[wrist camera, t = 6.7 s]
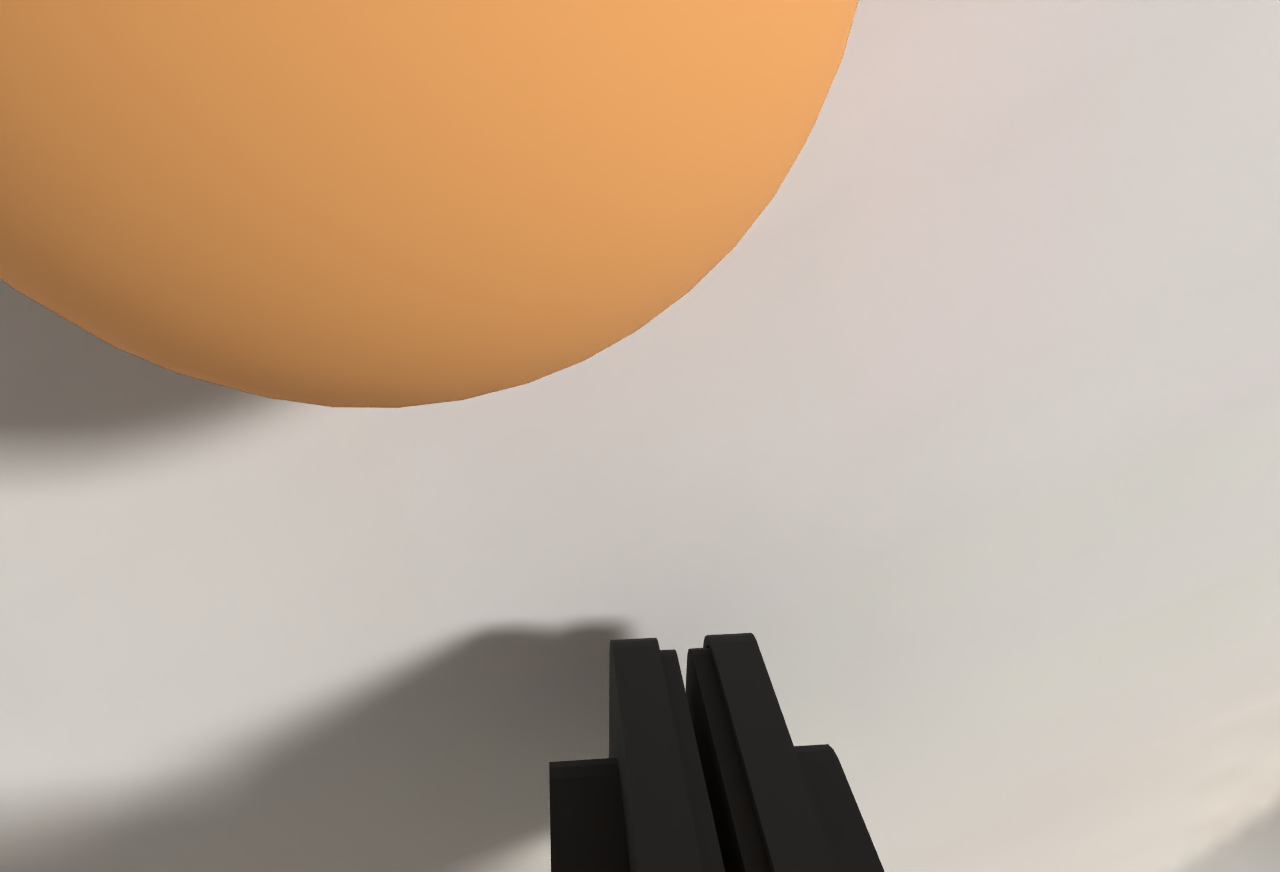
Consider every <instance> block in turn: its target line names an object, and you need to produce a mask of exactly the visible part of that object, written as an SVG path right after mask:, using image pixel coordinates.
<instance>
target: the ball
mask: <svg viewBox="0 0 1280 872" xmlns="http://www.w3.org/2000/svg"><path fill="white" fill-rule="evenodd" d="M857 4H858V0H0V278H1V279H2V280H3V281H5V282H6V283H7V284H8V285H10V286H11V287H12V288H14V289H15V290H17V291H18V292H20V293H22V294H24V295H25V296H27V297H29V298H30V299H32V300H34V301H36V302H37V303H39V304H41V305H42V306H44V307H46V308H48V309H49V310H51V311H53V312H55V313H56V314H58V315H60V316H61V317H63V318H65V319H67V320H68V321H70V322H72V323H74V324H75V325H77V326H79V327H80V328H82V329H84V330H86V331H87V332H89V333H91V334H93V335H94V336H96V337H98V338H99V339H101V340H103V341H105V342H106V343H108V344H110V345H112V346H114V347H116V348H118V349H121V350H123V351H125V352H128V353H130V354H133V355H135V356H137V357H140V358H142V359H145V360H147V361H149V362H152V363H154V364H157V365H159V366H161V367H164V368H166V369H168V370H171V371H173V372H176V373H178V374H182V375H186V376H189V377H193V378H197V379H200V380H204V381H207V382H211V383H215V384H218V385H222V386H226V387H229V388H233V389H237V390H240V391H244V392H248V393H252V394H256V395H259V396H263V397H267V398H273V399H280V400H287V401H294V402H301V403H308V404H316V405H323V406H330V407H382V408H400V407H408V406H416V405H425V404H433V403H441V402H449V401H458V400H464V399H468V398H472V397H476V396H480V395H484V394H487V393H491V392H495V391H499V390H503V389H507V388H511V387H515V386H519V385H523V384H526V383H529V382H532V381H534V380H537V379H539V378H542V377H544V376H547V375H549V374H552V373H554V372H557V371H559V370H562V369H564V368H567V367H569V366H572V365H574V364H577V363H579V362H582V361H584V360H586V359H588V358H589V357H591V356H593V355H595V354H596V353H598V352H600V351H602V350H604V349H605V348H607V347H609V346H611V345H612V344H614V343H616V342H618V341H620V340H621V339H623V338H625V337H627V336H628V335H630V334H632V333H634V332H635V331H637V330H638V329H640V328H641V327H642V326H644V325H645V324H646V323H648V322H649V321H650V320H652V319H653V318H654V317H656V316H657V315H658V314H660V313H661V312H662V311H664V310H665V309H666V308H668V307H669V306H670V305H672V304H673V303H674V302H676V301H677V300H678V299H680V298H681V297H682V296H684V295H685V294H686V293H688V292H689V291H690V290H691V289H692V288H693V287H694V286H695V285H696V284H697V283H698V282H699V281H700V280H701V279H702V278H703V277H704V276H705V275H706V274H707V273H708V272H709V271H710V270H712V269H713V268H714V267H715V266H716V265H717V264H718V263H719V262H720V261H721V260H722V259H723V258H724V257H725V256H726V255H727V254H728V253H729V252H730V251H731V250H732V249H733V248H734V247H735V246H736V244H737V243H738V242H739V241H740V239H741V238H742V237H743V235H744V234H745V233H746V232H747V230H748V229H749V228H750V227H751V225H752V224H753V223H754V221H755V220H756V219H757V218H758V216H759V215H760V214H761V212H762V211H763V210H764V209H765V207H766V206H767V205H768V203H769V202H770V201H771V200H772V198H773V197H774V195H775V194H776V192H777V190H778V189H779V187H780V185H781V184H782V182H783V180H784V178H785V177H786V175H787V173H788V172H789V170H790V168H791V167H792V165H793V163H794V161H795V160H796V158H797V156H798V155H799V153H800V151H801V150H802V148H803V146H804V144H805V143H806V141H807V138H808V136H809V134H810V132H811V130H812V128H813V126H814V124H815V121H816V119H817V117H818V115H819V112H820V110H821V107H822V105H823V103H824V100H825V98H826V96H827V93H828V91H829V89H830V86H831V84H832V81H833V79H834V77H835V74H836V72H837V70H838V67H839V65H840V63H841V60H842V58H843V54H844V51H845V47H846V44H847V40H848V36H849V33H850V29H851V26H852V22H853V18H854V15H855V11H856V8H857Z"/></svg>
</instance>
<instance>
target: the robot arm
mask: <svg viewBox="0 0 1280 872" xmlns="http://www.w3.org/2000/svg"><path fill="white" fill-rule="evenodd" d="M549 774H550V830H551V872H884V869H883V867H882V864H881V862H880V860H879V857H878V855H877V852H876V850H875V847H874V845H873V842H872V840H871V838H870V835H869V833H868V830H867V828H866V825H865V823H864V820H863V818H862V815H861V813H860V811H859V808H858V806H857V803H856V801H855V798H854V796H853V793H852V791H851V788H850V786H849V784H848V781H847V779H846V776H845V774H844V771H843V769H842V766H841V764H840V762H839V759H838V757H837V755H836V754H835V752H834V750H833V749H832V748H831V747H830V746H829V745H828V744H825V745H810V746H793V743H792V740H791V737H790V734H789V731H788V729H787V726H786V723H785V720H784V717H783V714H782V712H781V709H780V706H779V703H778V700H777V697H776V695H775V692H774V689H773V686H772V683H771V681H770V678H769V675H768V672H767V669H766V666H765V664H764V661H763V658H762V655H761V652H760V649H759V647H758V644H757V641H756V639H755V637H754V635H753V634H752V633H742V634H722V635H707V636H706V637H705V639H704V645H703V648H695V649H689V650H688V656H687V674H686V693H685V688H684V683H683V679H682V674H681V670H680V665H679V661H678V656H677V653H676V650H660V649H659V644H658V640H657V639H656V638H644V639H625V640H611V641H610V672H609V758H607V759H591V760H576V761H560V762H549Z"/></svg>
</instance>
